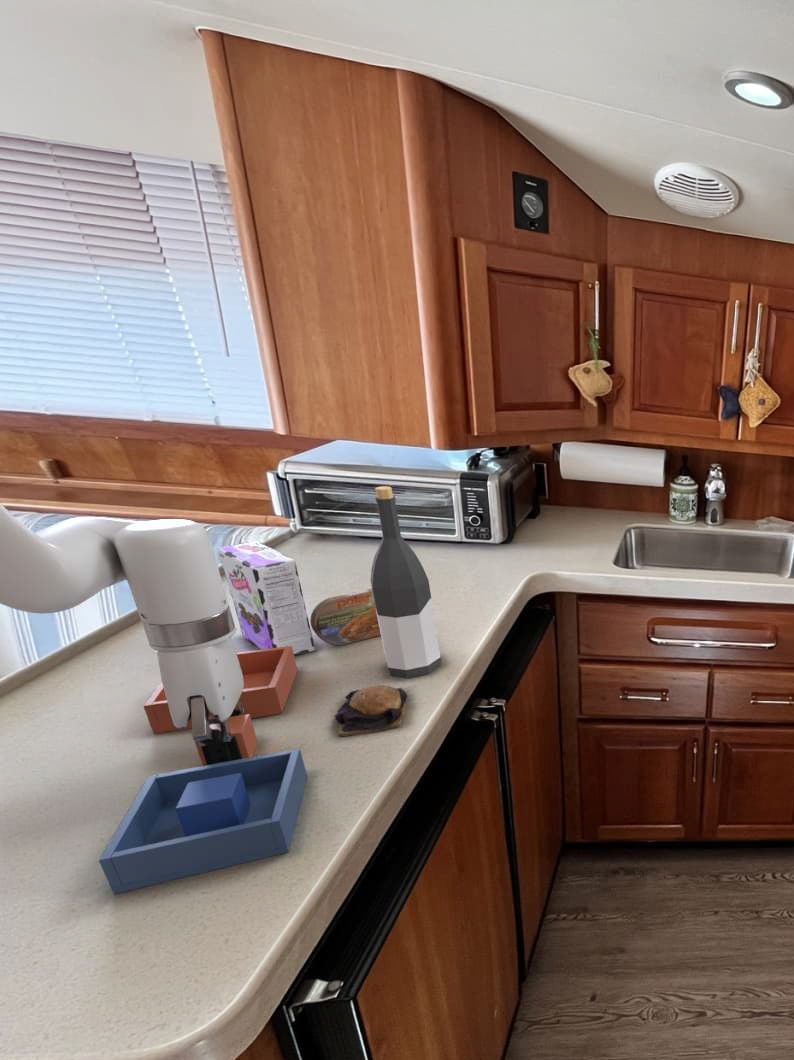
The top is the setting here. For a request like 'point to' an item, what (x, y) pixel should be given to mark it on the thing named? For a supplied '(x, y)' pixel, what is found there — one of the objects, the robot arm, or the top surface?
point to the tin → (346, 618)
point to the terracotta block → (237, 736)
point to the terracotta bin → (261, 693)
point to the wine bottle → (402, 599)
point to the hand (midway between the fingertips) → (231, 753)
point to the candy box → (267, 596)
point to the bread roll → (371, 710)
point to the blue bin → (167, 854)
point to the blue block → (213, 804)
